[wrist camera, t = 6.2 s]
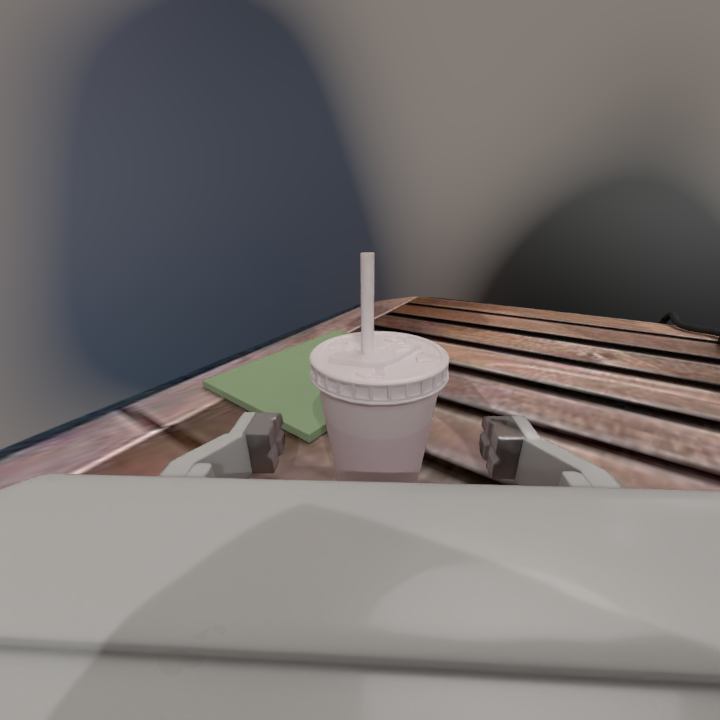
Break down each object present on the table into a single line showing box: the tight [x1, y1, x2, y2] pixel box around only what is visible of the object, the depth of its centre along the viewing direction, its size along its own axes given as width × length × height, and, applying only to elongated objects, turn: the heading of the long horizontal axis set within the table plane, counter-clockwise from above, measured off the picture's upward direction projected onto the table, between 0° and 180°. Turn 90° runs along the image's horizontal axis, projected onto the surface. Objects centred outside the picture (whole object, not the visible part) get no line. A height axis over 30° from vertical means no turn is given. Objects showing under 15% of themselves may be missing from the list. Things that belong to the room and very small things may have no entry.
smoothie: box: [309, 252, 449, 483], centre depth 16 cm, size 6×6×14 cm
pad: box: [203, 330, 350, 443], centre depth 36 cm, size 20×15×1 cm
